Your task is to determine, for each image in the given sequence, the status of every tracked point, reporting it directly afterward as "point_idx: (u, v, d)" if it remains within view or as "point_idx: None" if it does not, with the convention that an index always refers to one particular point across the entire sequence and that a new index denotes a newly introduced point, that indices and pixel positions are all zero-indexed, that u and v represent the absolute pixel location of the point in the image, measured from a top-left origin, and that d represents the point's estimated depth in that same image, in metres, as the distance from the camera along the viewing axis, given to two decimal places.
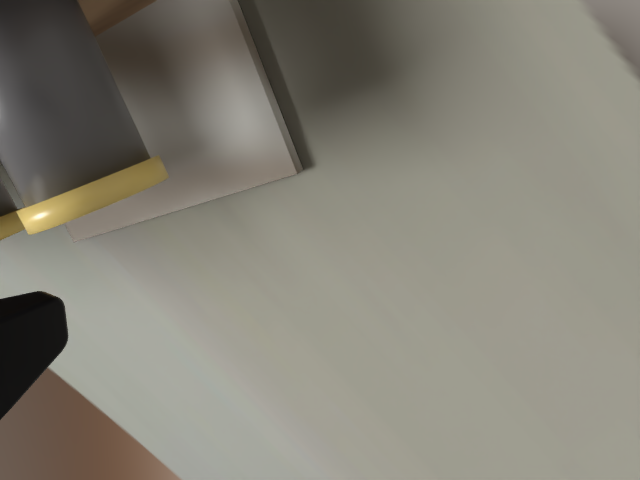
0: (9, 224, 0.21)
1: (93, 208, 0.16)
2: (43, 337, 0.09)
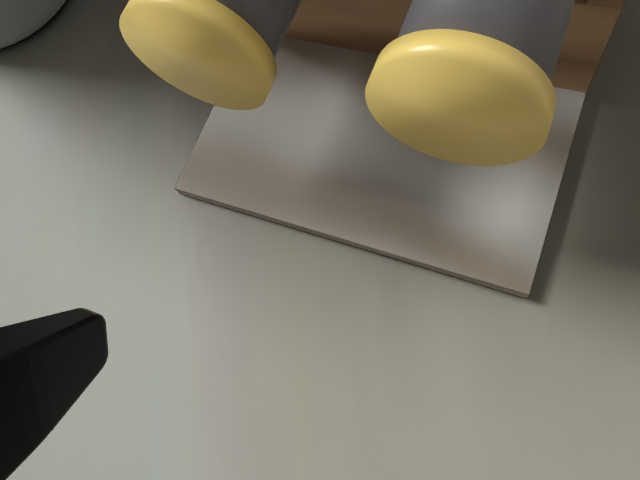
0: (271, 74, 0.16)
1: (526, 88, 0.12)
2: (85, 355, 0.09)
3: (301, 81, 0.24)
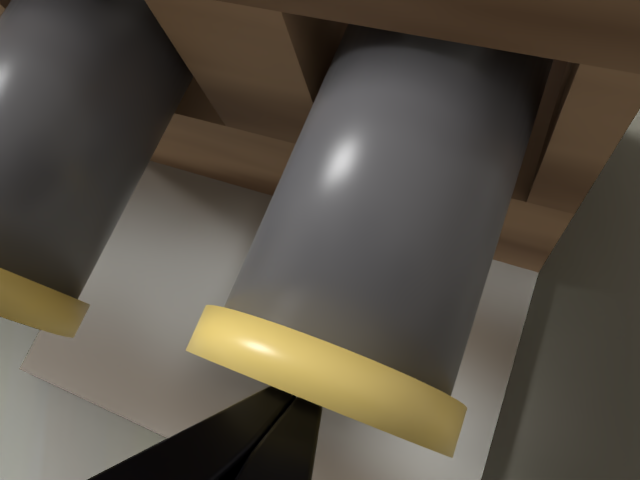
0: (67, 316, 0.11)
1: (403, 432, 0.07)
2: None
3: (187, 230, 0.19)
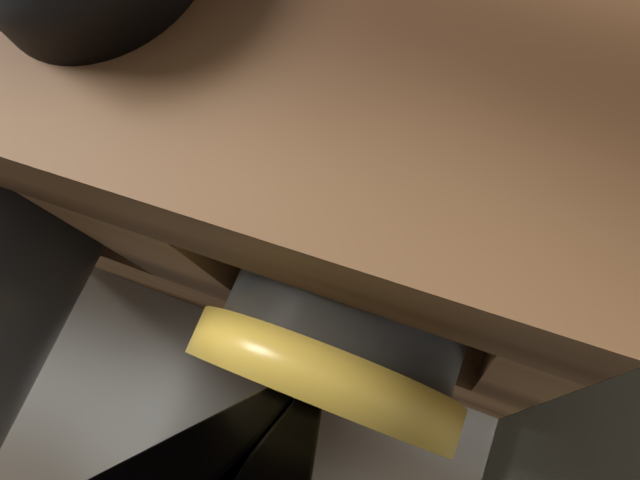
0: None
1: (403, 434, 0.07)
2: None
3: (130, 350, 0.18)
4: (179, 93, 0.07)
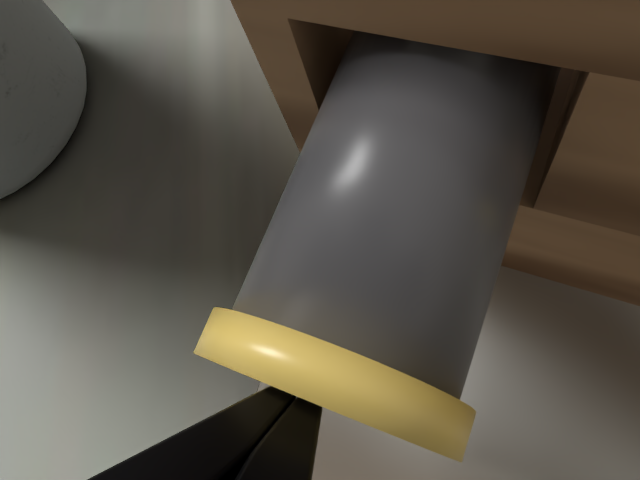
0: None
1: None
2: None
3: None
4: None
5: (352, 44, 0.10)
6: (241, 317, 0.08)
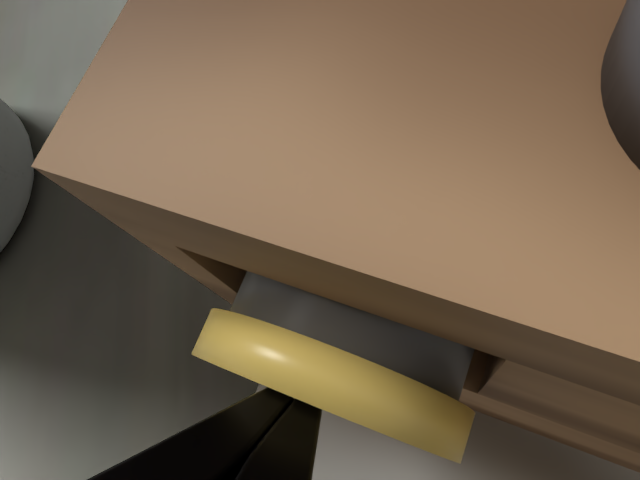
0: None
1: None
2: None
3: (361, 447, 0.15)
4: None
5: None
6: (239, 318, 0.08)
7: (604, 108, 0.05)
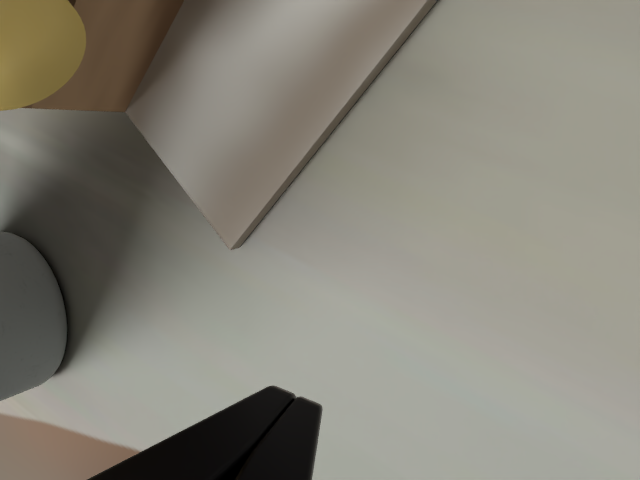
0: None
1: None
2: None
3: (185, 82, 0.23)
4: None
5: None
6: None
7: None
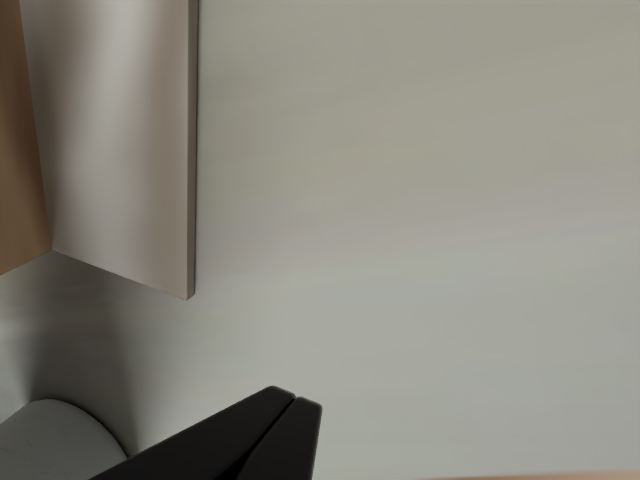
0: None
1: None
2: None
3: (76, 198, 0.26)
4: None
5: None
6: None
7: None
